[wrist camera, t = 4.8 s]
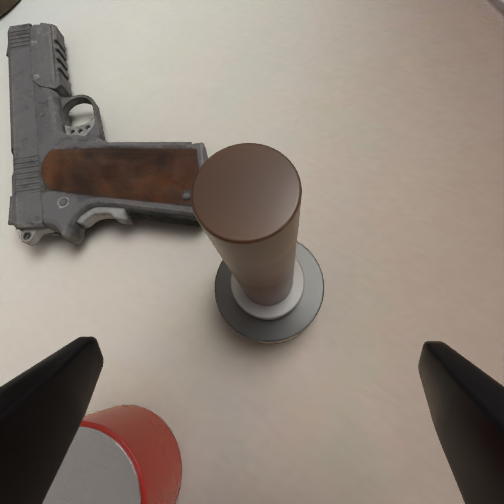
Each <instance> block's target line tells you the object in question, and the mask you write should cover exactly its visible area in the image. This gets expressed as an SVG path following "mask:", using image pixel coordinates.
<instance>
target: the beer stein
mask: <svg viewBox="0 0 504 504" xmlns="http://www.w3.org/2000/svg"><path fill="white" fill-rule="evenodd" d="M18 1H19V0H0V16H2V15H3V14H5V13H6V12H7V11H9V10H10V9H11V8H12V7H13V6H14V5H15V4H16V3H17V2H18Z"/></svg>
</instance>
